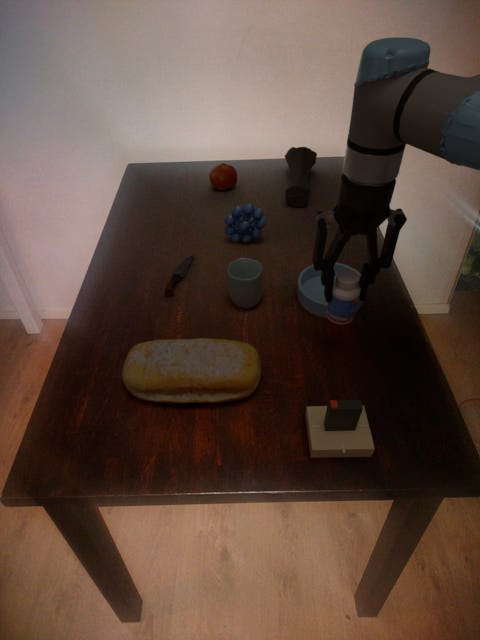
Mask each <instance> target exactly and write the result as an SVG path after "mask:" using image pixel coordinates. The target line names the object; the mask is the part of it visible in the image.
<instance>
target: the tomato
mask: <svg viewBox="0 0 480 640" xmlns="http://www.w3.org/2000/svg"><path fill="white" fill-rule="evenodd" d="M209 182H210V184H211V187H213V186H214V187H213V188H214V189H217V188H220V189H217V190H220V191H224V190H227V189H226V188H230V189H231V187H232V188H233V186H234V187H235V186H236V184H237V183H238V172H237V169H236V168H235V167H234V166H233V165H231V164H227V163H225V162H222V163H219V164H217V165H216V166H214V167H213V168H212V169H211V170H210V172H209Z"/></svg>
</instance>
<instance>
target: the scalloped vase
mask: <svg viewBox="0 0 480 640" xmlns="http://www.w3.org/2000/svg"><path fill="white" fill-rule="evenodd" d="M317 156H318V154H317V152H316V151H314V150H312V149H311V148H309V147H307V146H298V147H294V146H293V147H290V148H289V149H288V150H287V152H286V154H284V159H285V160H286V163H287V167H288V166H289V167H288V169H289V168H290V169H289V170H290V180H289V183H288V185H287V187H286V189H285V191H284V192H285V194H284V195H285V196H284V197H285V201H286V203H287V205H288V206H291V207H294V208H303V207H305V206H306V205H307V204H308V203H309V201H310V197H311V188H310V183H309V182H310V181H309V176H310V171H311V169H312V168H313V167H314V166H315V165H316V163H317Z"/></svg>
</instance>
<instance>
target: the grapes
mask: <svg viewBox="0 0 480 640" xmlns="http://www.w3.org/2000/svg"><path fill="white" fill-rule="evenodd" d="M264 214H265V211H264V210H263V209H262V208H261V207H257V208H255V205H254V204H253V203H251V202H249V203H246V204H244V205H243V207H242V206H241V205H235V206H234V207H233V208H232V209H231V214H227V215H226V216H225V217H224V224H225V227H224V233H225V235H227V236H230V240H231V241H232V242H234V243H238V242H240V241H241V242H242V243H244V244H248V243H250V242H251V241H252V240H253V238H254V239H257V238H260V237H262V236H261V235H262V234H263V230H262V229H264V228H265V227H266V226H267V224H268V221H267V219H266V218H265V217H264V216H265V215H264Z"/></svg>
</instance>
